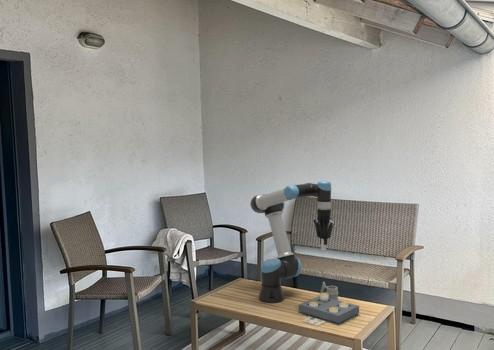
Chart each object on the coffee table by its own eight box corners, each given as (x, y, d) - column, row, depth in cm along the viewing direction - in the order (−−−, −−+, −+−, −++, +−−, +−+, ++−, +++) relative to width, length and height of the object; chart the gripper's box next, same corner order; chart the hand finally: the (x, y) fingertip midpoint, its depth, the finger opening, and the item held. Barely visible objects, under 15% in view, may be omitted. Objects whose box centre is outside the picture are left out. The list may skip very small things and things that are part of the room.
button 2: (318, 302, 273) (318, 293, 273) (323, 300, 277) (323, 291, 276) (325, 304, 270) (325, 295, 269) (330, 302, 273) (330, 293, 273)
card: (302, 321, 255) (302, 320, 255) (310, 317, 260) (310, 316, 260) (317, 326, 248) (317, 324, 248) (325, 322, 253) (325, 321, 253)
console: (298, 313, 267) (298, 304, 267) (319, 304, 281) (319, 295, 281) (338, 325, 249) (338, 315, 249) (359, 314, 263) (359, 305, 263)
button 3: (327, 318, 257) (327, 308, 257) (332, 315, 261) (332, 306, 260) (334, 320, 254) (334, 310, 253) (339, 317, 257) (339, 308, 257)
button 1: (307, 312, 266) (307, 302, 266) (312, 309, 270) (312, 300, 269) (314, 314, 263) (314, 304, 262) (319, 311, 266) (319, 302, 266)
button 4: (337, 313, 264) (337, 303, 264) (342, 310, 268) (342, 301, 267) (345, 315, 261) (345, 305, 261) (350, 312, 264) (350, 303, 264)
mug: (334, 307, 276) (334, 286, 275) (317, 302, 284) (316, 282, 283) (341, 303, 282) (341, 283, 281) (324, 299, 290) (324, 279, 289)
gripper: (310, 208, 272) (310, 249, 274) (330, 210, 263) (329, 253, 265) (318, 206, 278) (318, 247, 280) (337, 209, 269) (337, 250, 271)
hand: (323, 250), depth 272 cm, fingers closed
